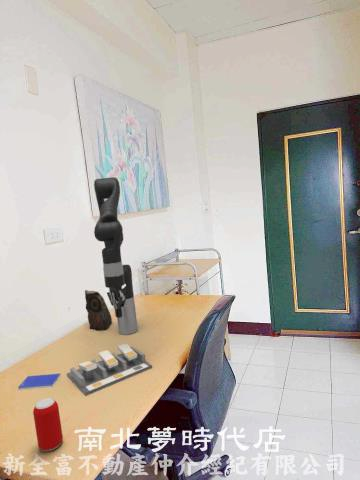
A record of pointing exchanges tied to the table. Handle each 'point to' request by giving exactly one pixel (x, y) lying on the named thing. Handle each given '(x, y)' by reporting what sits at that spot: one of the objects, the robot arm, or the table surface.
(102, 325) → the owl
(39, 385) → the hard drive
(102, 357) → the rocker middle
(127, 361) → the switch unit
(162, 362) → the table surface
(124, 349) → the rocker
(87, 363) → the rocker
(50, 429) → the beverage can
